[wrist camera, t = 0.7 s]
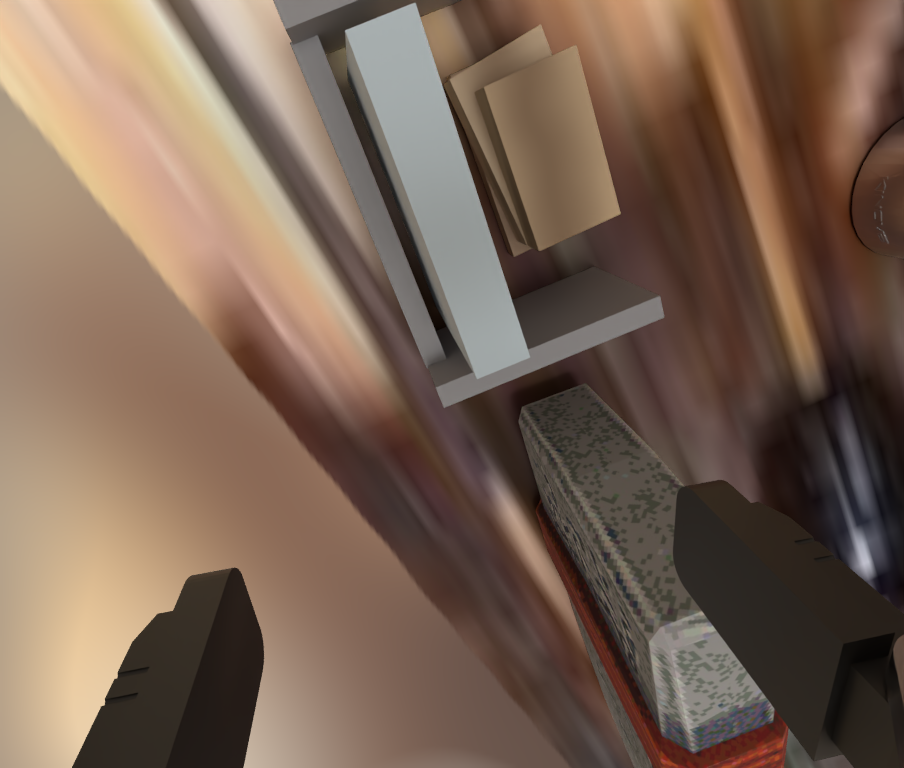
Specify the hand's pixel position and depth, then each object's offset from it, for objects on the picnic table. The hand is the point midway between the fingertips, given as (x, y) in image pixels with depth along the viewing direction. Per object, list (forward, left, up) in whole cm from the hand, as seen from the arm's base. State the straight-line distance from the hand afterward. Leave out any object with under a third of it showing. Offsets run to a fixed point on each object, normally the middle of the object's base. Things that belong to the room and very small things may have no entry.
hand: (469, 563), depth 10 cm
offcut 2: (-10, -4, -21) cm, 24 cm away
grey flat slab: (-3, -4, -25) cm, 25 cm away
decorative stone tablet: (-6, +25, -25) cm, 36 cm away
